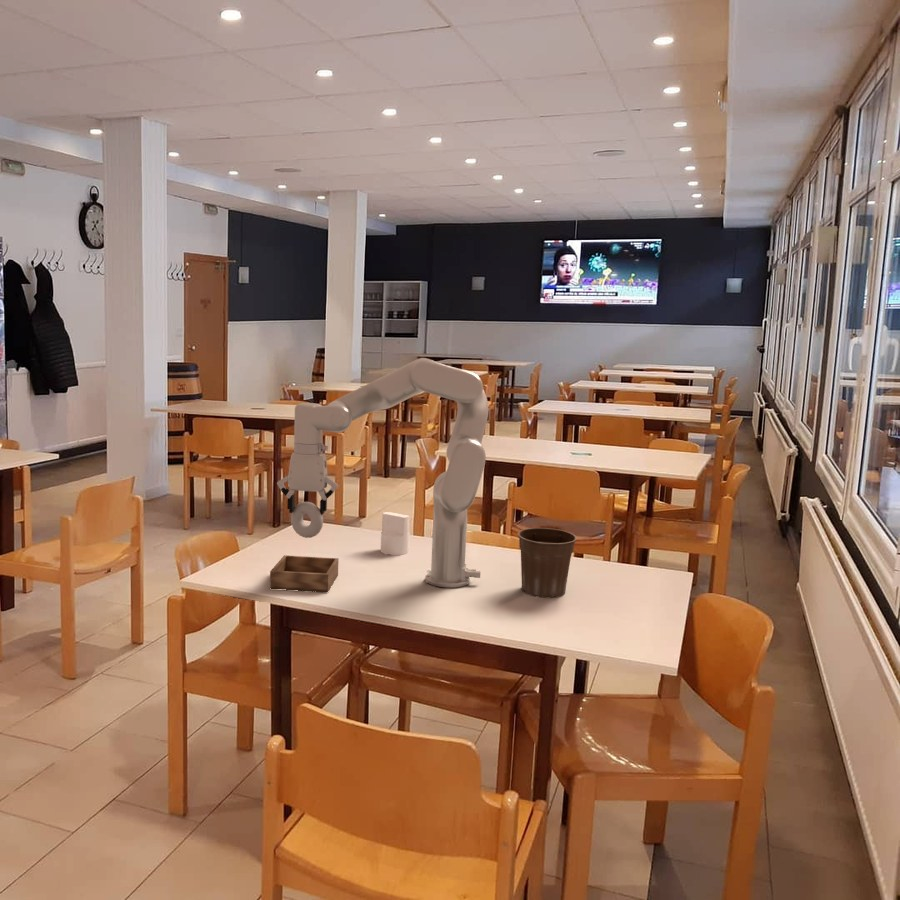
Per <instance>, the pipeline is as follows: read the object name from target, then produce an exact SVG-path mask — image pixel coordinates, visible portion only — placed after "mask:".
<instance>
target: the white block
mask: <svg viewBox="0 0 900 900" xmlns="http://www.w3.org/2000/svg"><path fill="white" fill-rule="evenodd" d="M381 515H382V519H381V532H380V533H381V534H380V552H383V553H386V554H385V555H387V554H391V555H390V556H404V555H407V554H409V553H410V519H411V517H410V515H407V514H401V513H396V512H391V511H386V512H385V511H384V512H383V513H382V514H381ZM408 552H409V553H408ZM383 553H382V554H383Z"/></svg>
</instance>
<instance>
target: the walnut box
mask: <svg viewBox="0 0 900 900" xmlns="http://www.w3.org/2000/svg"><path fill="white" fill-rule="evenodd" d="M338 577H339V557H323V556H322V557H321V556H319V557H317V556H301V555H283V556H282V557H281V559H279V561H278V562H277V563H276V564H275V565H274V567H273V568H272V569H271V570H269V589H270V588H271V589H286V590H285V591H288V590H298V591H297V592H305V591H312V592H311V593H323V592H328V591H329V592H330V590H331V588H332V587H333V585H334V583H335V582H336V579H337V578H338ZM334 581H335V582H334ZM331 586H332V587H331ZM313 591H314V592H313ZM315 591H316V592H315ZM329 592H328V593H329Z"/></svg>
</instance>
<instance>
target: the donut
mask: <svg viewBox="0 0 900 900" xmlns="http://www.w3.org/2000/svg"><path fill="white" fill-rule="evenodd" d="M304 515H307V516H308V517H309V519H310V524H309V525H307V524H306V523H305V522H304ZM290 524H291V526H292V528H293V530H294V532H295V533H296V534H297V535H299V536H300V537H302V538H306V539H309V538H313V537H316V536H317V535H318V534H319V533H320V532H321V530H322V528H323V524H324V517H323V515H321V513H320V507H318V506H317V505H316V504H315V503H313V502H311V501H301V502H299V503H297V504H296V505H294V510H293V512H292V513H290Z"/></svg>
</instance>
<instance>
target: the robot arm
mask: <svg viewBox="0 0 900 900" xmlns="http://www.w3.org/2000/svg"><path fill="white" fill-rule="evenodd" d="M483 383H484V382H483V381H482V379H481V378H480V376H479V375H478V374H476V373H475V372H472V371H470V370H468V369H463V368H462V369H461V368H457V367H453V366H451V365H447V364H443V363H440V362H438V361H435V360H433V359H430V358H428V357H427V358H426V357H420V358H417V359H415V360H413V361H411V362H408V363H406V364H405V365H403V366H401V367H399V368H396V369H395V370H393V371H391V372H389V373H386V374H384V375H383V376H381V377H379V378H377V379H375V380H372V381H371V382H369V383H367V384H365V385H363V386H360V387H359V388H357V389H355V390H353V391H350V392H349V393H347V394H345V395H342V396H341V397H339V398H336V399H334V400H333V401H331V402H329V403H328V404H327V405H322V404H320V403H314V402H301V403H298V404H296V405H295V407H294V430H293V431H294V432H293V433H294V434H293V435H294V436H293V439H294V440H293V452H292V453H291V455H290V461H289V467H288V475H286V476H284V477H282V478H281V479H279V480H278V481H277V482H276V485H277V487H278V488H279V489H280V491H281V493H282V494H283V495H284V496H285V497H286V499H287V506H286V507H287V510H289V511H288V512H289V514H291V513H292V512H293V510H294V507H295V501H296V500H295V499H296V498H295V497H294V494H295V492H296V491H299V492H317V493H318V495H319V496H320V498H321V499H320V500H319V501H320V502H319V509H320V513H321V515H322V516H323V515H324V514H325V512H327V509H328V499H329V498H330V497H331V496H332V495H333V493H335V491H336V490H337V488H338V487H339V484H338V483H337V482H336V481H334V480H332V479H331V478H330V477H329V476H328V463H327V458H326V453H324V452H325V451H328V450H329V449H328V448H329V446H328V445H325V444H324V442H323V439H324V438H323V437H324V436H323V435H324V433H323V432H330V433H342V432H343V433H344V432H346V431H347V430H349V428H350V427H351V425H352V422H353V421H355V420H357V419H360V418H362V417H363V416H366V415H368V414H370V413H374V412H377V411H383V410H388V409H390V408H393V407H395V406H397V405H399V404H401V403H402V402H404V401H406V400H408V399H410V398H412V397H414V396H416V395H418V394H420V393H422V392H424V393H428V394H431V395H433V396H436V397H440V398H445V399H447V400H451V401H455V402H456V405H457V413H456V418H455V421H454V425H453V429H452V432H451V436H450V438H449V441H448V444H447V448H446V458H447V460H448V466H447V470H446V471H443V472H442V473H440V474H439V475H438V476H437V477H436V479H435V481H434V482H433V483H434V485H433V489H432V491H433V492H432V496H433V498H432V500H433V501H432V502H433V522H432V525H433V526H432V541H431V542H432V543H431V544H432V545H431V560H430V561H431V563H430V572H429V573H427V574H425V576H424V578H425V579H424V580H425V582H426V584H429V585H431V586H434V587H439V588H450V589H451V588H460V587H465V586H466V585H468V584H470V581H471V580H470V578H474V579H475V578H478V579H480V578H481V570H477V569H476V568H474V569H473V568H472V569H471V568H470V569H469V568H468V567H467V564H466V552H467V551H466V548H467V531H468V530H467V529H468V509H469V508H470V507H471V506H472V505H473V503H474V500H475V499H476V495H477V492H478V491H479V490H478V489H479V486H480V482H481V479H482V476H483V473H484V469H485V465H486V460H487V459H486V451H485V448H484V446H483V445H482V441H483V438H484V434H485V430H486V425H487V422H488V416H489V404H488V397H487V394H486V392H485V390H484V384H483ZM286 482H287V486H288V487H286V486H285V483H286ZM328 485H329V486H330V489H329V490H328V491H326V488H327V487H328ZM288 488H289V489H288Z"/></svg>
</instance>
